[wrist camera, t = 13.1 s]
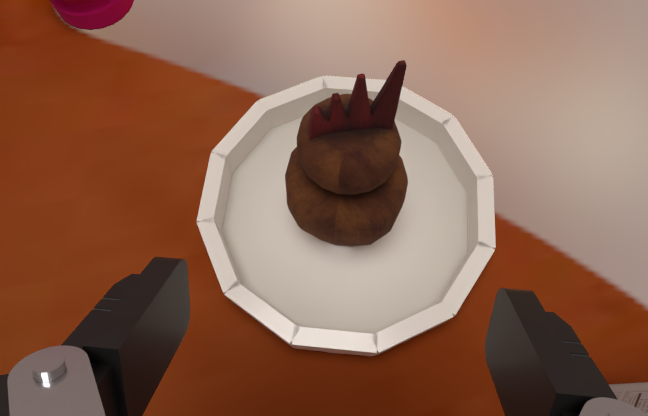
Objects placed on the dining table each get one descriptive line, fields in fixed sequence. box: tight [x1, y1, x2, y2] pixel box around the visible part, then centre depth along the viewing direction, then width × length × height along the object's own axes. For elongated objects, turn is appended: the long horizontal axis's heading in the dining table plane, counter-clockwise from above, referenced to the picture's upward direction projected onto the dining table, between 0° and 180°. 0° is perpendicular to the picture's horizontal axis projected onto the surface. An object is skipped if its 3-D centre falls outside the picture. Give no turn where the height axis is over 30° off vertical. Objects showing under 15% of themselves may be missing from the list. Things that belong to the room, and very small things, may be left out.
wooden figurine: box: [285, 61, 408, 247], centre depth 25 cm, size 7×6×15 cm
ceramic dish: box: [197, 76, 496, 356], centre depth 31 cm, size 18×18×3 cm
